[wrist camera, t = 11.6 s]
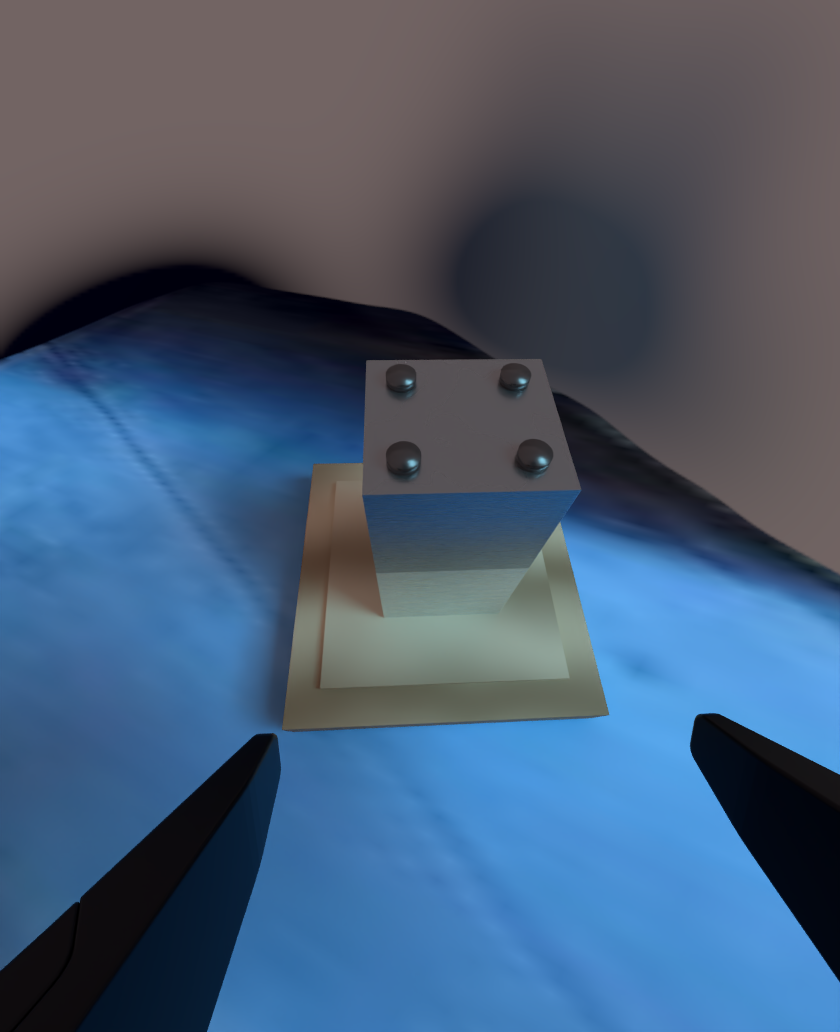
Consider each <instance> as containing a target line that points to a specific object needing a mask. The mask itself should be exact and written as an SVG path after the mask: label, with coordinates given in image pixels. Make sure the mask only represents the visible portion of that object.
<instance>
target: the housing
mask: <svg viewBox="0 0 840 1032" xmlns="http://www.w3.org/2000/svg"><path fill="white" fill-rule="evenodd" d="M580 491H581V487H580V484H579V481H578V478H577V474H576V471H575V468H574V464H573V461H572V458H571V455H570V451H569V448H568V445H567V442H566V438H565V435H564V432H563V428H562V425H561V422H560V419H559V415H558V412H557V409H556V406H555V402H554V399H553V396H552V392H551V389H550V386H549V383H548V380H547V376H546V373H545V370H544V367H543V363H542V360H541V359H511V360H510V359H502V360H499V359H496V360H369V361H367V363H366V393H365V423H364V453H363V483H362V497H363V503H364V509H365V514H366V520H367V525H368V531H369V537H370V542H371V548H372V553H373V559H374V565H375V570H376V576H377V581H378V587H379V593H380V598H381V604H382V609H383V615H384V618H391V617H417V616H443V615H470V614H496V613H499V612H500V611H501V609H502V608H503V606H504V605H505V603H506V602H507V600H508V599H509V597H510V596H511V594H512V593H513V591H514V590H515V588H516V587H517V585H518V584H519V582H520V581H521V579H522V578H523V576H524V575H525V573H526V572H527V570H528V569H529V567H530V566H531V564H532V563H533V561H534V560H535V558H536V557H537V555H538V554H539V552H540V551H541V549H542V548H543V546H544V545H545V543H546V542H547V540H548V539H549V538H550V536H551V535H552V533H553V532H554V530H555V529H556V527H557V526H558V524H559V523H560V521H561V520H562V518H563V517H564V515H565V514H566V512H567V511H568V509H569V508H570V506H571V505H572V503H573V502H574V500H575V499H576V497H577V496H578V494H579V493H580Z"/></svg>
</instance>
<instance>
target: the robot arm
mask: <svg viewBox="0 0 840 1032" xmlns="http://www.w3.org/2000/svg"><path fill="white" fill-rule="evenodd" d="M690 749H691V753H692V756H693V758H694V760H695V762H696V763H697V765H698V767H699V769H700V770H701V772H702V774H703V775H704V777H705V779H706V780H707V782H708V784H709V786H710V787H711V789H712V791H713V792H714V794H715V796H716V798H717V799H718V801H719V803H720V804H721V806H722V808H723V810H724V811H725V813H726V815H727V816H728V818H729V820H730V821H731V823H732V825H733V826H734V828H735V830H736V831H737V833H738V835H739V836H740V838H741V839H742V841H743V842H744V844H745V845H746V847H747V848H748V850H749V851H750V853H751V854H752V856H753V857H754V859H755V860H756V861H757V863H758V864H759V866H760V867H761V869H762V870H763V872H764V873H765V874H766V876H767V877H768V879H769V880H770V882H771V883H772V885H773V886H774V888H775V889H776V890H777V892H778V893H779V895H780V896H781V898H782V899H783V901H784V902H785V903H786V905H787V906H788V908H789V909H790V911H791V912H792V914H793V915H794V916H795V918H796V919H797V921H798V922H799V924H800V925H801V927H802V928H803V930H804V931H805V932H806V934H807V935H808V937H809V938H810V940H811V941H812V943H813V944H814V945H815V947H816V948H817V950H818V951H819V953H820V954H821V956H822V957H823V958H824V960H825V961H826V963H827V964H828V966H829V967H830V969H831V970H832V972H833V973H834V974H835V976H836V977H837V979H838V980H839V982H840V775H839V774H837V773H835V772H833V771H831V770H829V769H827V768H825V767H823V766H821V765H819V764H817V763H815V762H813V761H811V760H809V759H807V758H805V757H804V756H802V755H800V754H798V753H796V752H794V751H792V750H790V749H788V748H786V747H784V746H782V745H780V744H778V743H776V742H774V741H772V740H770V739H768V738H766V737H764V736H762V735H760V734H758V733H756V732H754V731H752V730H750V729H748V728H746V727H744V726H742V725H740V724H738V723H736V722H734V721H732V720H730V719H728V718H726V717H724V716H722V715H720V714H716V713H708V714H699V715H697V716H696V717H695V720H694V725H693V731H692V736H691V742H690ZM280 773H281V763H280V754H279V746H278V738H277V736H276V735H275V734H274V733H267V734H256V735H255V736H253V737H252V738H251V739H250V740H249V741H248V742H247V743H246V744H245V745H243V746H242V747H241V748H240V749H239V750H238V751H237V752H236V753H235V754H234V755H233V756H232V757H231V758H230V759H228V760H227V761H226V762H225V763H224V764H223V765H222V766H221V767H220V768H219V769H218V770H217V771H216V772H215V773H213V774H212V775H211V776H210V777H209V778H208V779H207V780H206V781H205V782H204V783H203V784H202V785H201V786H200V787H198V788H197V789H196V790H195V791H194V792H193V793H192V794H191V795H190V796H189V797H188V798H187V799H186V800H185V801H183V802H182V803H181V804H180V805H179V806H178V807H177V808H176V809H175V810H174V811H173V812H172V813H171V814H170V815H168V816H167V817H166V818H165V819H164V820H163V821H162V822H161V823H160V824H159V825H158V826H157V827H156V828H155V829H153V830H152V831H151V832H150V833H149V834H148V835H147V836H146V837H145V838H144V839H143V840H142V841H141V842H140V843H138V844H137V845H136V846H135V847H134V848H133V849H132V850H131V851H130V852H129V853H128V854H127V855H126V856H125V857H124V858H122V859H121V860H120V861H119V862H118V863H117V864H116V865H115V866H114V867H113V868H112V869H111V870H110V871H109V872H107V873H106V874H105V875H104V876H103V877H102V878H101V879H100V880H99V881H98V882H97V883H96V884H95V885H94V886H92V887H91V888H90V889H89V890H88V891H87V892H86V893H85V894H84V895H83V896H82V897H81V899H80V903H79V902H75V903H74V904H73V905H72V906H71V907H70V908H69V909H68V910H66V911H65V912H64V913H63V914H62V915H61V916H60V917H59V918H58V919H57V920H56V921H55V922H54V923H53V924H51V925H50V926H49V927H48V928H47V929H46V930H45V931H44V932H43V933H42V934H41V935H39V936H38V937H37V938H36V939H35V940H34V941H33V942H32V943H31V944H30V945H28V946H27V947H26V948H25V949H24V950H23V951H22V952H21V953H20V954H19V955H17V956H16V957H15V958H14V959H13V960H12V961H11V962H10V963H9V964H8V965H6V966H5V967H4V968H3V969H2V970H1V971H0V1032H207V1030H208V1027H209V1024H210V1021H211V1018H212V1014H213V1011H214V1008H215V1005H216V1002H217V999H218V996H219V993H220V990H221V986H222V983H223V980H224V977H225V974H226V971H227V968H228V965H229V962H230V958H231V955H232V952H233V949H234V946H235V943H236V940H237V937H238V934H239V930H240V927H241V924H242V921H243V918H244V915H245V912H246V909H247V906H248V902H249V899H250V896H251V893H252V890H253V887H254V884H255V881H256V877H257V874H258V871H259V867H260V863H261V859H262V855H263V851H264V847H265V842H266V838H267V833H268V829H269V824H270V820H271V815H272V811H273V806H274V802H275V797H276V793H277V788H278V784H279V779H280Z"/></svg>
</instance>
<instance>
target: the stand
mask: <svg viewBox="0 0 840 1032" xmlns="http://www.w3.org/2000/svg"><path fill="white" fill-rule="evenodd" d="M362 483H363V463H342V464H314V465H313V473H312V482H311V490H310V499H309V507H308V515H307V524H306V532H305V541H304V549H303V558H302V566H301V574H300V583H299V591H298V600H297V608H296V617H295V625H294V633H293V642H292V650H291V659H290V667H289V676H288V684H287V692H286V701H285V709H284V718H283V726H282V730H286V731H292V732H300V731H321V730H343V729H365V728H386V727H408V726H430V725H451V724H473V723H495V722H516V721H538V720H560V719H582V718H594V717H600V716H606V715H609V712H608V708H607V704H606V700H605V696H604V692H603V688H602V684H601V680H600V676H599V673H598V669H597V665H596V661H595V657H594V653H593V649H592V645H591V641H590V637H589V633H588V629H587V625H586V622H585V618H584V614H583V610H582V606H581V602H580V598H579V594H578V590H577V586H576V582H575V578H574V574H573V571H572V567H571V563H570V559H569V555H568V551H567V547H566V543H565V539H564V535H563V531H562V527H561V523H559V524H558V526H557V527H556V529H555V530H554V532H553V533H552V535H551V536H550V538H549V539H548V540H547V542H546V543H545V545H544V546H543V548H542V549H541V551H540V552H539V554H538V555H537V557H536V558H535V560H534V561H533V563H532V564H531V566H530V567H529V569H528V570H527V572H526V573H525V575H524V576H523V578H522V579H521V581H520V582H519V584H518V585H517V587H516V588H515V590H514V591H513V593H512V594H511V596H510V597H509V599H508V600H507V602H506V603H505V605H504V606H503V608H502V609H501V611H500V612H499V613H496V614H470V615H443V616H417V617H391V618H384V615H383V609H382V604H381V598H380V593H379V587H378V581H377V576H376V570H375V565H374V559H373V553H372V548H371V542H370V537H369V531H368V525H367V520H366V514H365V509H364V503H363V497H362Z"/></svg>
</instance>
